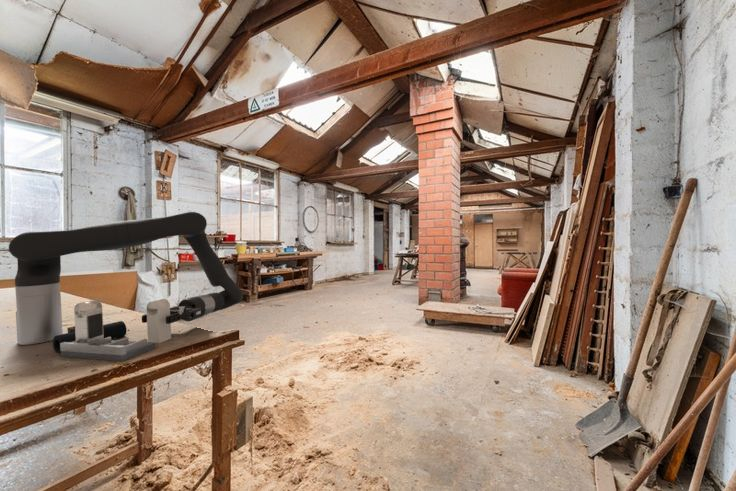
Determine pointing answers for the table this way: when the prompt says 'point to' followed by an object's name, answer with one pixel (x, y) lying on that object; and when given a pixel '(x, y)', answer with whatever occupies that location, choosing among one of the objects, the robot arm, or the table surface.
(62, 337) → the pipe connector
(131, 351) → the bracket
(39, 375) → the table surface
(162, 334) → the finger
